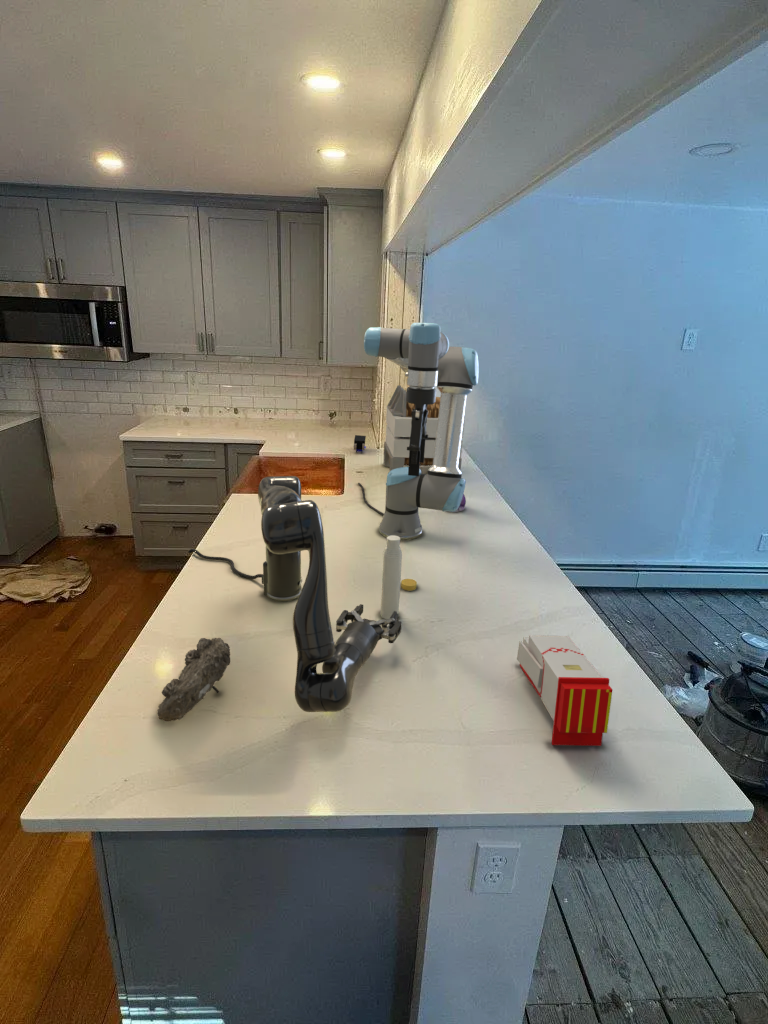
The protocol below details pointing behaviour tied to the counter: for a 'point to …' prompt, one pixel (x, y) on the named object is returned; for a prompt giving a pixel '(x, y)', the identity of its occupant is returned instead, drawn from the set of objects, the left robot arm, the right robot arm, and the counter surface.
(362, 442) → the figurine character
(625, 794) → the counter surface
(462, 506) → the figurine
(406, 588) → the cap
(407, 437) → the white slatted box
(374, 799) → the counter surface
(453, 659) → the counter surface
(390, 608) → the bottle
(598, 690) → the toy
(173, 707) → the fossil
